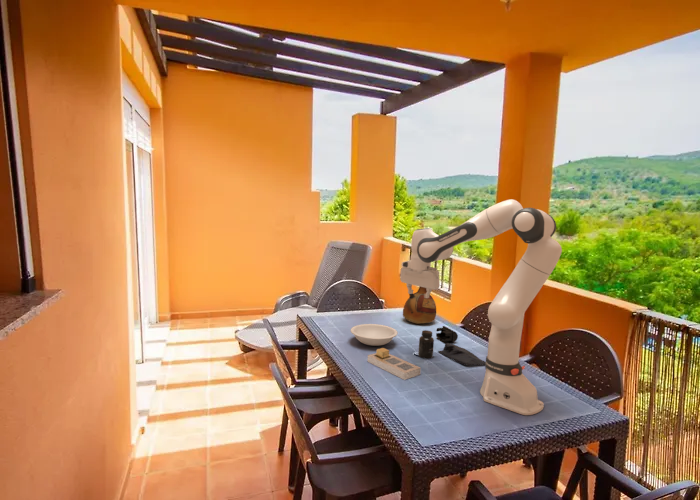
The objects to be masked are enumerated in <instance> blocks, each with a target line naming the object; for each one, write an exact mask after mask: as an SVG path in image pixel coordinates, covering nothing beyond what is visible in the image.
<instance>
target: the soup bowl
mask: <svg viewBox="0 0 700 500" xmlns="http://www.w3.org/2000/svg"><path fill="white" fill-rule="evenodd" d="M350 333H351V334H352V335H353V336H354V337H355V339H356V340H357V341H359V343H362V344H364V345H367V346H372V347H373V346H374V347H375V346H376V347H377V346H378V347H379V346H384V345H386V344H389V343H390V342H392V340H393V339H394V338H395V337H397V335H398V331H397V329H395V328H393V327H391V326H387V325H385V324H377V323H376V324H375V323H362V324H357V325H354V326H352V327H351V328H350Z"/></svg>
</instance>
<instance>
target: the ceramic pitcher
mask: <svg viewBox="0 0 700 500" xmlns="http://www.w3.org/2000/svg"><path fill="white" fill-rule="evenodd" d="M412 286H413V285H412ZM412 286H411V288H412ZM426 292H427V291H426V288H424V287H420V286H418V289H417V291H416V292H413V294H409V293H408V295H409V298H407V300H406V302H405V303H404V305H403V310H402V317H403V318H404V319H405V320H406V321H408V322H410V323H413V324H417V325H421V324H428V323H433V322H434V321H435V319H436V317H437V305H436V301H435V300H434V298H433V296H431V293H430V294H429V298H424V294H426Z"/></svg>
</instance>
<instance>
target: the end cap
mask: <svg viewBox="0 0 700 500" xmlns="http://www.w3.org/2000/svg"><path fill="white" fill-rule="evenodd" d="M435 334H436V336H435V337H436V340H438V341H439V342H440V343H442V344H444V345H445V343H449V344H454V343H456V341H457V340H458V333H457V332H456V331H454V330H453V329H451V328H449V327H447V326H445V325H442V327H437V328H436V333H435Z"/></svg>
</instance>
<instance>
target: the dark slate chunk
mask: <svg viewBox="0 0 700 500" xmlns="http://www.w3.org/2000/svg"><path fill="white" fill-rule="evenodd" d="M438 353H439V354H442V355H443V356H444V357H447V358H449V359H450V360H453V361H455V362H457V363H459V364H460V365H463V366H467V367H468V366H485V363H486V360H482V359H480V358H479V357H478V356H477V355H475V354H474V353H473V352H471V351H470V350H468V349H466V348H463V347H461V346H458V345H456V344H454V343H452V344H449V343H445V344H444V347H443V349H442V350H438Z"/></svg>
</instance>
